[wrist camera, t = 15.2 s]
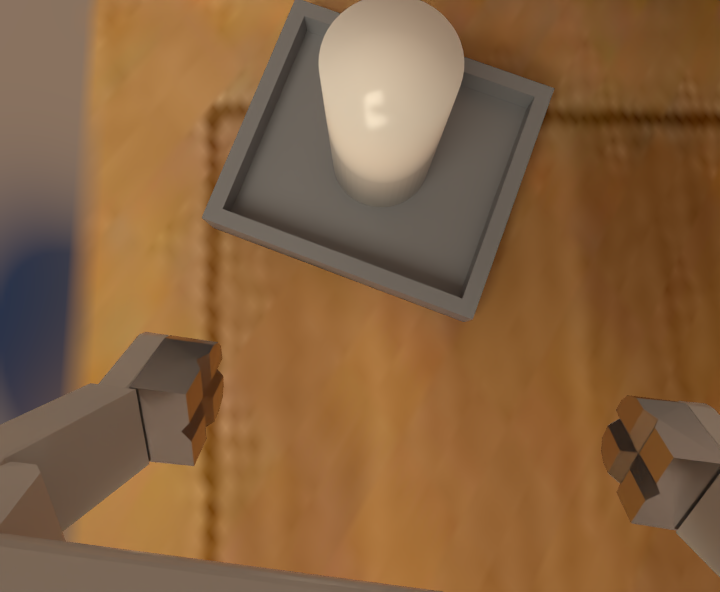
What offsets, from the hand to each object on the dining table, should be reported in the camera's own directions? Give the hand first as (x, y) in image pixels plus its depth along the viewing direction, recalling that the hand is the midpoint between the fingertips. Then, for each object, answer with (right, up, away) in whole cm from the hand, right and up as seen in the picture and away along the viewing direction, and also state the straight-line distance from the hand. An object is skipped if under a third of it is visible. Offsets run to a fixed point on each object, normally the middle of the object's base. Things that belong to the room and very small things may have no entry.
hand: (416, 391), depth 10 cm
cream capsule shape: (0, +11, +22) cm, 25 cm away
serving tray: (0, +11, +23) cm, 25 cm away
